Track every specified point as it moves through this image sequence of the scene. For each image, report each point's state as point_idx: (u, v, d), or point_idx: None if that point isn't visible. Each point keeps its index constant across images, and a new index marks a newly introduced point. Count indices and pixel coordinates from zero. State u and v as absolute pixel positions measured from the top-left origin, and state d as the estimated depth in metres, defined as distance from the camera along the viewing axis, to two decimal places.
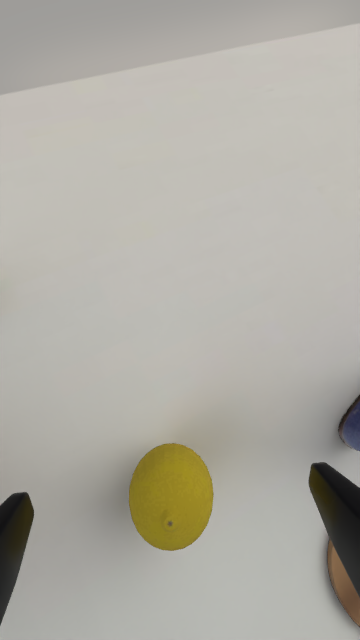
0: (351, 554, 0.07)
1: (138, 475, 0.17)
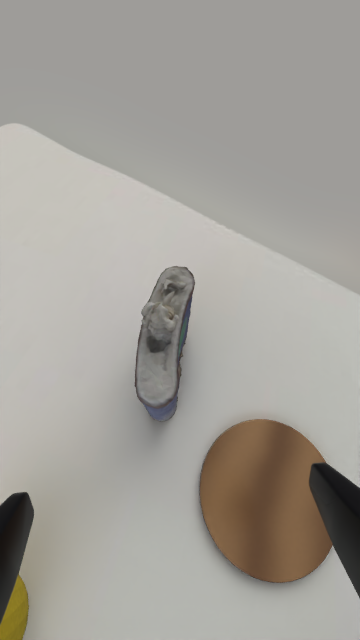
0: (351, 554, 0.07)
1: None
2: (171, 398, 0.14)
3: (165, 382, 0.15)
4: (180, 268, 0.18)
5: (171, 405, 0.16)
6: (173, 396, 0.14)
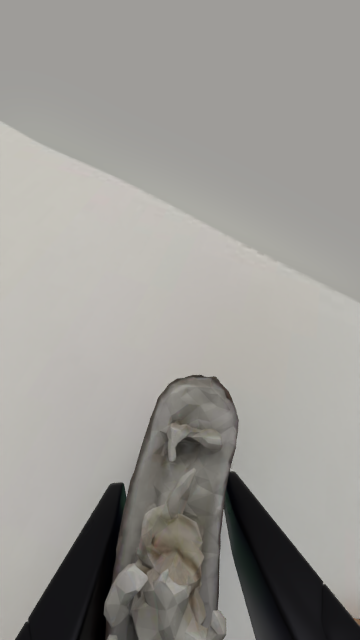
0: (241, 567, 0.07)
1: None
2: None
3: None
4: (202, 384, 0.08)
5: None
6: None
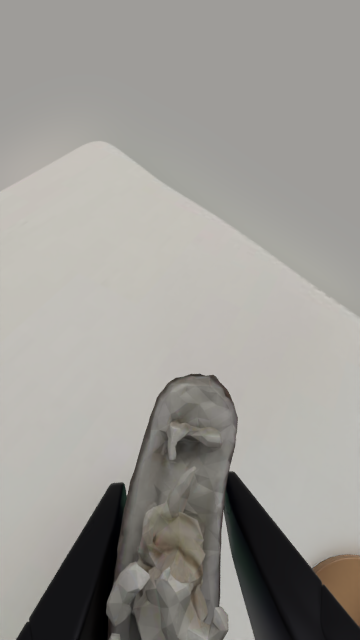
0: (240, 567, 0.07)
1: None
2: None
3: None
4: (201, 383, 0.08)
5: None
6: None
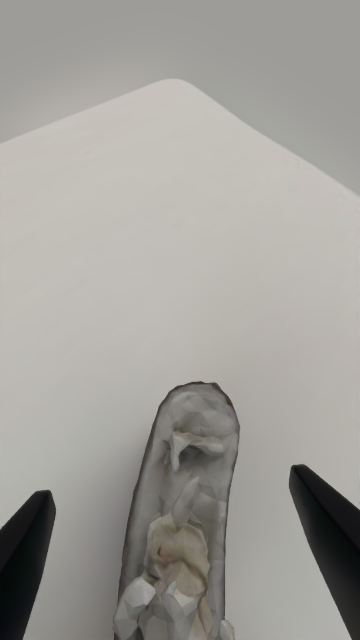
0: (326, 557, 0.07)
1: None
2: None
3: None
4: (203, 391, 0.08)
5: None
6: None
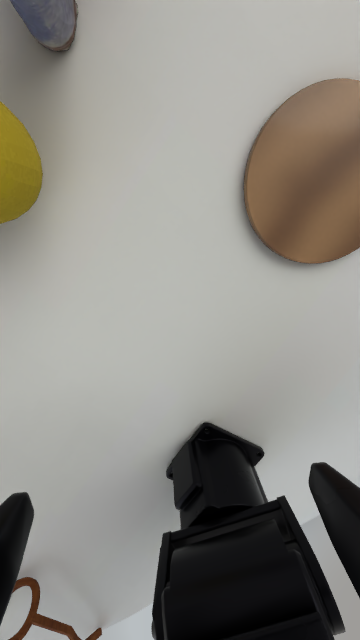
0: (351, 554, 0.07)
1: None
2: None
3: None
4: None
5: None
6: None
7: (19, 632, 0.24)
